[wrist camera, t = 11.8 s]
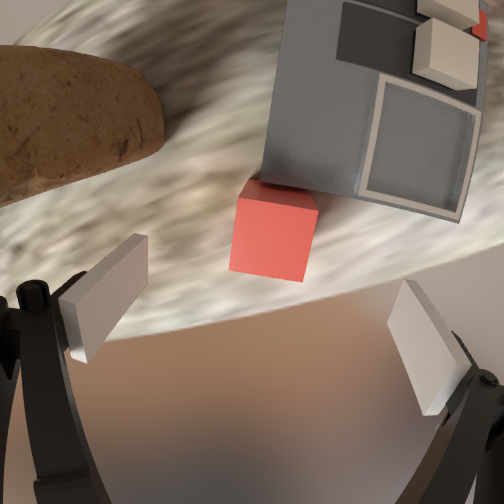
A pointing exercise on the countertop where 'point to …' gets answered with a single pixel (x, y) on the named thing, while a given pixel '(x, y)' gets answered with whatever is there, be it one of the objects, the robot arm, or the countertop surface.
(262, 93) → the countertop surface
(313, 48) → the panel
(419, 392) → the robot arm
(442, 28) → the toggle
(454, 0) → the toggle
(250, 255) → the coral toy cube
